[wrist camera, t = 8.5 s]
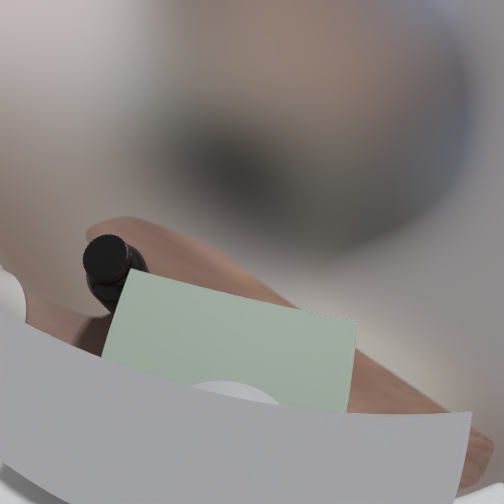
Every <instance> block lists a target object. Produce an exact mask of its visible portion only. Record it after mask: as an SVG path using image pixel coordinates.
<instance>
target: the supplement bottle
mask: <svg viewBox="0 0 504 504" xmlns="http://www.w3.org/2000/svg"><path fill="white" fill-rule="evenodd" d="M83 264H84V269H85V271H86V278H87V284H88V287H89V289H90V291H91V292H92V294H93V295H94V296H95V297H96V298H97V299H98V300H99V301H100V302H101V303H102V304H103V305H104V306H105V307H106V308H107V309H108V310H109V311H110V312H111V313H112V314H113V315H114V314H115V311H116V308H117V305H118V302H119V299H120V296H121V294H122V291H123V288H124V285H125V282H126V280H127V277H128V274H129V272H130V269H131V268H132V269H135V270H139V271H142V272H146V273H149V274H150V272H149V270H148V267H147V265H146V263H145V260H144V258H143V257H142V255H141V254H140V252H139V251H138V250H137V249H135V248H134V247H132V246H130V245H128V244H126V243H125V242H124V241H123V240H122V239H121V238H119V237H118V236H115V235H111V234H109V235H107V234H106V235H101V236H100V237H97V238H96V239H94V240H93V241H92V242H90V244H89V245H88V246H87V248H86V249H85V252H84V254H83Z"/></svg>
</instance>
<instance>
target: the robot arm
mask: <svg viewBox="0 0 504 504" xmlns="http://www.w3.org/2000/svg"><path fill="white" fill-rule="evenodd" d="M1 310H2V311H4V312H6V313H7V314H9V315H11V316H13V317H15V318H16V319H18V320H20V321H22V322H24V323H25V319H26V302H25V296H24V292H23V290H22V287H21V285H20V283H19V282H18V280H17V279H16V278H15V277H14V276H13V275H11V274H10V273H8V272H6V271H4V270H3V269H2V267H1V265H0V313H1ZM0 504H69V503H68V502H66V501H64V500H62V499H60V498H58V497H56V496H55V495H53V494H51V493H49V492H48V491H46V490H44V489H43V488H41V487H39V486H38V485H36V484H34V483H33V482H31V481H30V480H28V479H27V478H25V477H24V476H22V475H21V474H19V473H18V472H16V471H15V470H13V469H12V468H11V467H9V466H8V465H6V464H5V463H4V462H2V461H1V460H0ZM453 504H504V484H503V483H496V484H493V485H490V486H488V487H486V488H483V489H481V490H478V491H476V492H473V493H470V494H467V495H465V496H462V497H459V498H456V499H455V500H454V503H453Z"/></svg>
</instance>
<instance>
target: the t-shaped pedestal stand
mask: <svg viewBox="0 0 504 504" xmlns="http://www.w3.org/2000/svg"><path fill="white" fill-rule="evenodd" d="M356 333H357V321H353V320H348V319H343V318H337V317H333V316H327V315H322V314H318V313H313V312H308V311H303V310H298V309H293V308H289V307H284V306H280V305H275V304H271V303H266V302H262V301H257V300H253V299H249V298H244V297H240V296H236V295H232V294H227V293H223V292H219V291H215V290H211V289H207V288H203V287H199V286H195V285H191V284H187V283H183V282H179V281H176V280H172V279H168V278H164V277H161V276H157V275H153V274H149V273H146V272H142V271H139V270H135V269H132V268H131V269H130V272H129V274H128V277H127V280H126V282H125V285H124V288H123V291H122V294H121V296H120V299H119V302H118V305H117V308H116V311H115V314H114V317H113V320H112V323H111V326H110V329H109V333H108V336H107V339H106V342H105V346H104V349H103V352H102V356H101V357H99V356H96V355H94V354H91V353H89V352H86V351H84V350H81V349H79V348H77V347H74V346H72V345H70V344H68V343H65V342H63V341H61V340H59V339H57V338H54V337H52V336H50V335H48V334H46V333H44V332H42V331H40V330H38V329H36V328H34V327H32V326H30V325H28V324H26V323H24V322H22V321H20V320H18V319H16V318H15V317H13V316H11V315H9V314H7V313H6V312H4V311H2V310H1V313H0V460H1V461H2V462H4V463H5V464H6V465H8V466H9V467H11V468H12V469H13V470H15V471H16V472H18V473H19V474H21V475H22V476H24V477H25V478H27V479H28V480H30V481H31V482H33V483H34V484H36V485H38V486H39V487H41V488H43V489H44V490H46V491H48V492H49V493H51V494H53V495H55V496H56V497H58V498H60V499H62V500H64V501H66V502H68V503H69V504H453V503H454V500H455V497H456V493H457V490H458V486H459V482H460V478H461V474H462V470H463V465H464V461H465V456H466V450H467V445H468V439H469V433H470V426H471V418H472V411H468V412H457V413H442V414H414V415H387V414H360V413H346V410H347V404H348V398H349V392H350V385H351V377H352V370H353V362H354V353H355V343H356Z"/></svg>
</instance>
